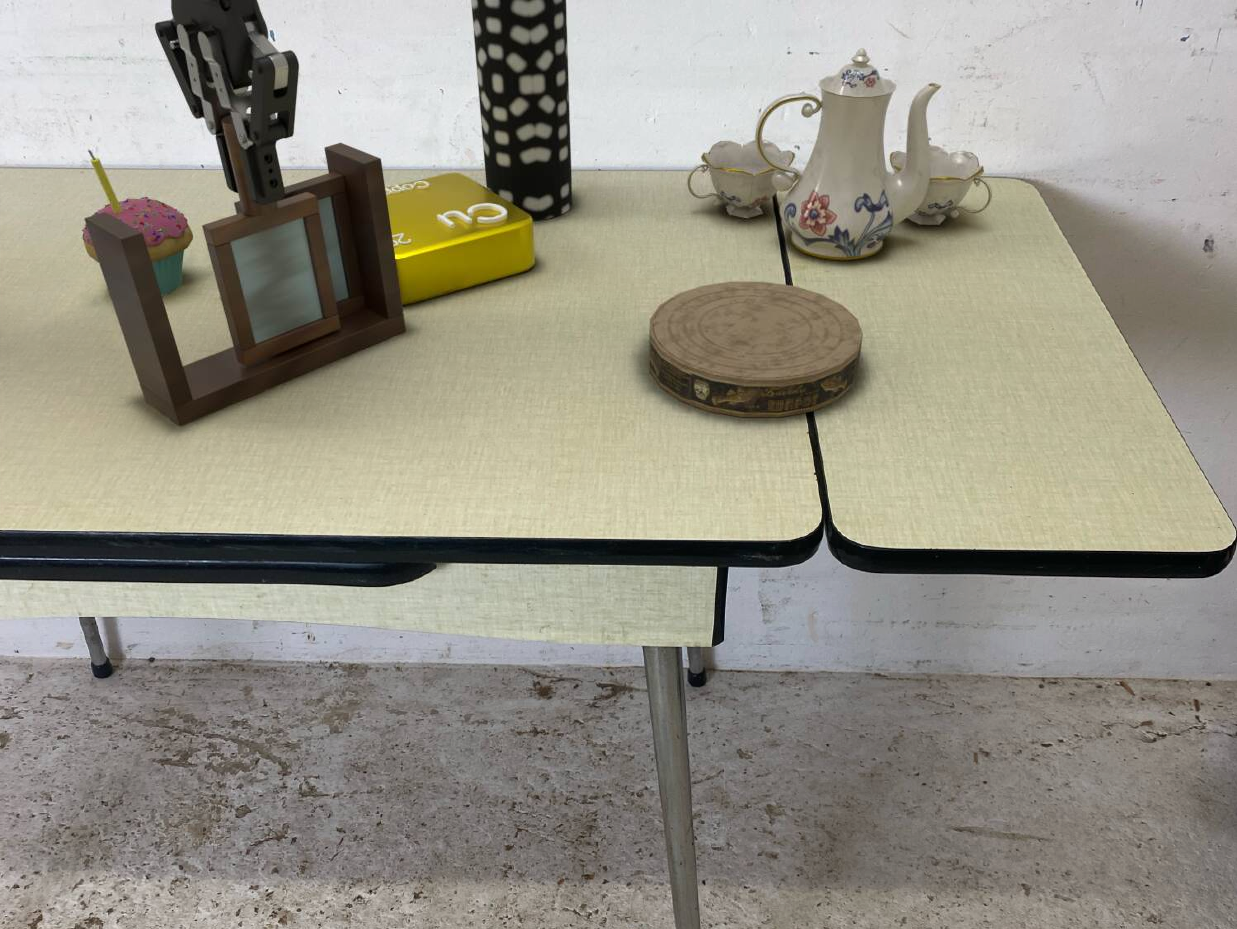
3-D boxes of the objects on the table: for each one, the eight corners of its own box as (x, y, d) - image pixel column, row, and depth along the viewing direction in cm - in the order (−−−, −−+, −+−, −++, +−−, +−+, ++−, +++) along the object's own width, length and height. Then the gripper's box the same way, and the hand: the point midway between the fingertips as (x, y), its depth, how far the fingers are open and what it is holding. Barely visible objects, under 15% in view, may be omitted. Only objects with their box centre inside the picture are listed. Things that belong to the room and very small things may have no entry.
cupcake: (155, 315, 89) (109, 166, 81) (78, 297, 92) (26, 151, 84) (224, 275, 95) (188, 132, 87) (150, 258, 98) (108, 118, 90)
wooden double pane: (179, 426, 76) (120, 239, 67) (145, 401, 79) (83, 217, 70) (406, 330, 87) (381, 158, 78) (369, 311, 90) (340, 142, 81)
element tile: (463, 214, 105) (458, 163, 102) (544, 267, 96) (541, 213, 93) (318, 250, 99) (308, 197, 96) (389, 311, 90) (381, 255, 86)
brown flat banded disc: (700, 301, 91) (701, 266, 89) (883, 341, 85) (890, 306, 83) (611, 386, 80) (611, 349, 78) (815, 439, 75) (820, 400, 73)
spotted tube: (543, 227, 103) (532, -12, 89) (471, 210, 106) (449, -23, 92) (587, 198, 108) (583, -31, 95) (517, 183, 111) (503, -41, 98)
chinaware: (963, 213, 109) (996, 26, 99) (1008, 267, 95) (1052, 56, 86) (684, 212, 109) (690, 26, 100) (690, 265, 96) (697, 56, 86)
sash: (250, 370, 79) (191, 138, 68) (232, 359, 80) (172, 129, 69) (346, 331, 83) (304, 107, 72) (328, 321, 85) (284, 100, 74)
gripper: (73, -112, 64) (156, 184, 76) (192, -82, 57) (265, 239, 69) (188, -126, 68) (251, 157, 80) (313, -100, 61) (362, 207, 73)
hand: (257, 194), depth 74 cm, fingers closed on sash, 2 cm apart
